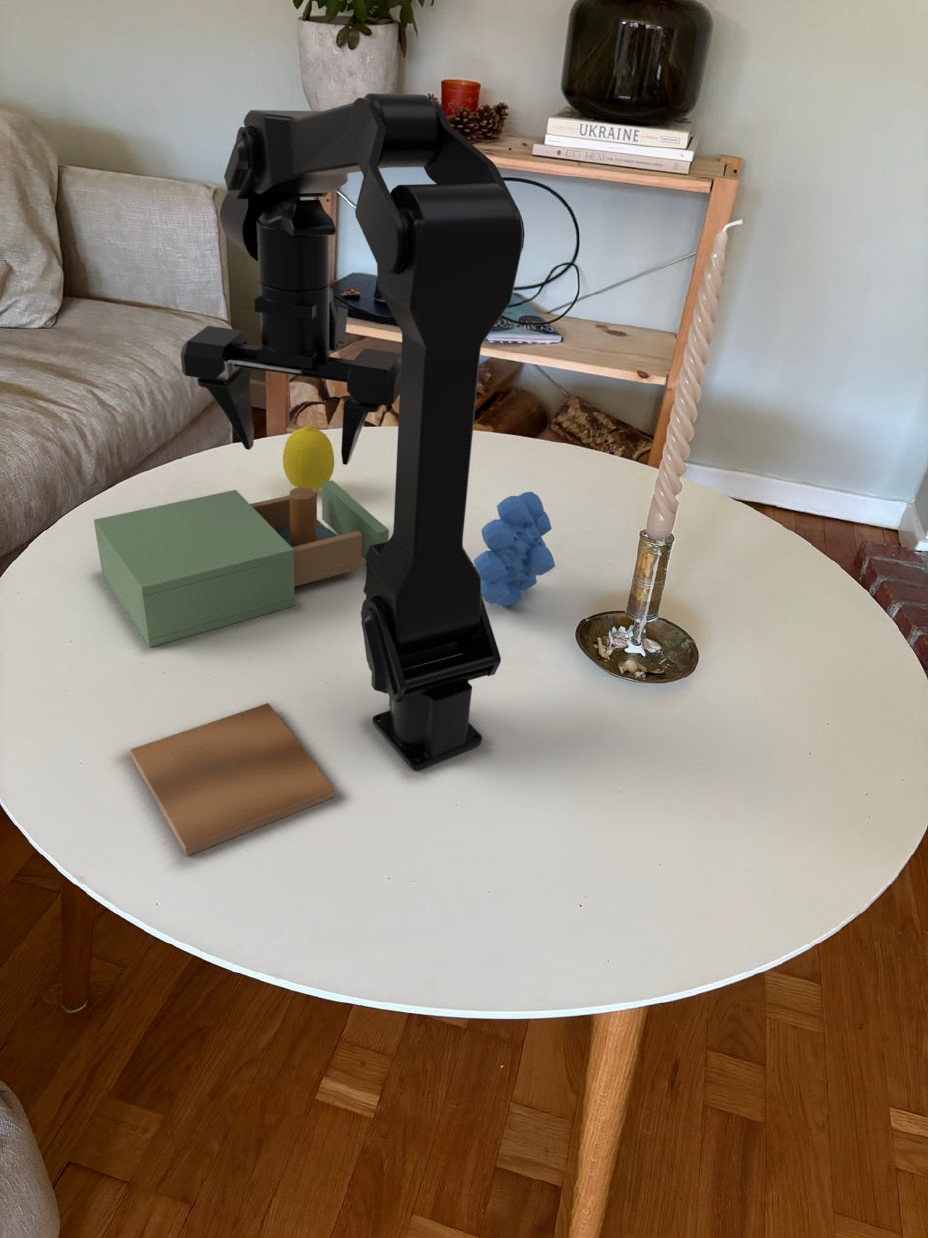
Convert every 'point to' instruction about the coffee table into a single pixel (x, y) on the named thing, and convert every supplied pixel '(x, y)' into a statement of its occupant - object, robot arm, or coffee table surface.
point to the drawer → (336, 551)
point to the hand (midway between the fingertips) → (297, 455)
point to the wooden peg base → (229, 777)
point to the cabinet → (195, 565)
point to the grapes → (514, 549)
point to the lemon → (308, 458)
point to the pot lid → (303, 520)
